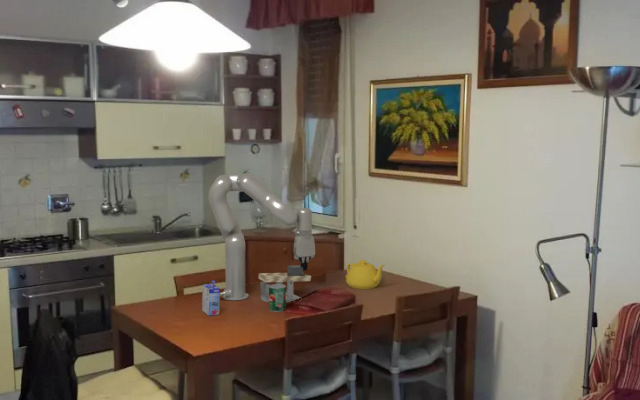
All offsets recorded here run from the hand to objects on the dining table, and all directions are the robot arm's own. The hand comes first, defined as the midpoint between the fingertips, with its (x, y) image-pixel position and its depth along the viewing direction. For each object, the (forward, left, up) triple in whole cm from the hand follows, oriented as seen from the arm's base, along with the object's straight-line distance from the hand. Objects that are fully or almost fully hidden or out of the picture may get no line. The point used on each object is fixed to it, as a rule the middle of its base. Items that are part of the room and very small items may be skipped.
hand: (304, 269), depth 323 cm
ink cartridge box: (-51, +10, -13) cm, 53 cm away
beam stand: (-13, +5, -13) cm, 19 cm away
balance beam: (-10, +4, -4) cm, 11 cm away
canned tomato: (-27, -8, -13) cm, 31 cm away
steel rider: (-5, +2, -3) cm, 6 cm away
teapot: (+36, -10, -13) cm, 40 cm away
